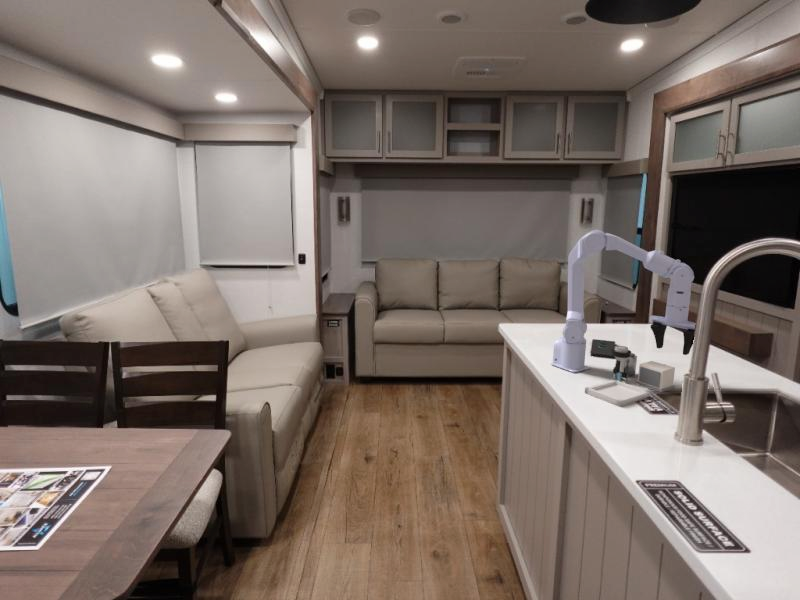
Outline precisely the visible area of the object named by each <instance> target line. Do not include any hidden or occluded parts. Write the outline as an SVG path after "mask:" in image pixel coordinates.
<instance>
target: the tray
mask: <svg viewBox="0 0 800 600" xmlns="http://www.w3.org/2000/svg"><path fill="white" fill-rule="evenodd" d="M584 394H587V395H590V396H591V397H594V398H596V399H599V400H602V401H603V402H606V403H610V404H612V405H615V406H617V407H623V406H626V405H630V404H633V403H637V402H639V401H642V400H645V399H648V398H647V397H649V396H650V397H651V391H649V390H646V389H643V388H640V387H637V386H634V385H632V384H628V383H627V382H626V383H624V382H620V381H617V380H616V379H615V380H614V379H612V380H609V381H605V382H601V383H598V384H594V385H590V386H586V387H584ZM650 397H649V398H650ZM644 398H645V399H644Z"/></svg>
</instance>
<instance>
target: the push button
mask: <svg viewBox="0 0 800 600" xmlns="http://www.w3.org/2000/svg"><path fill="white" fill-rule="evenodd" d="M611 351H612V355H613V356H614V357H616V358H615V364H614V365H615V366H614V367H613V369H612V375H611V376H612V380H617V381H620V382H623V383H626V384H627V382H626V380H627V377H628V376H627V373H625V368H624V363H625V359H626V358H628V357H630V354H631V353H632V351H631V350H630V349H629V348H628V347H627V346H623V345H615V348H614V349H612V350H611Z"/></svg>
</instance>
